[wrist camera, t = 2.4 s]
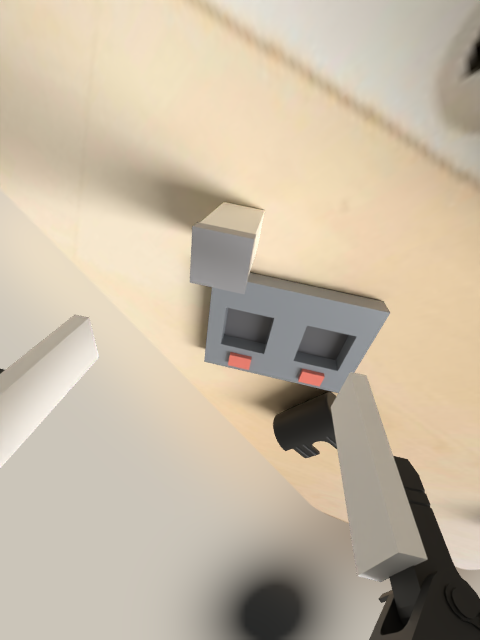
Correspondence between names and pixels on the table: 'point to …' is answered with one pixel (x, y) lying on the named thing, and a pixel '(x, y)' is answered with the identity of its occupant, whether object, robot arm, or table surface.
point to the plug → (225, 247)
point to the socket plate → (292, 331)
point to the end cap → (306, 425)
